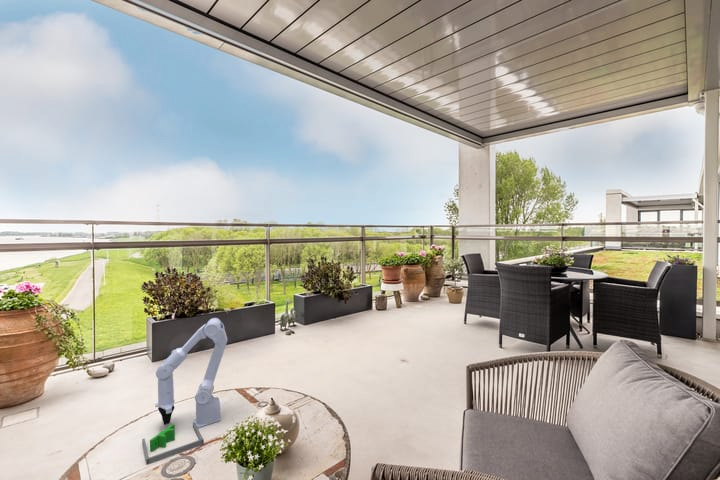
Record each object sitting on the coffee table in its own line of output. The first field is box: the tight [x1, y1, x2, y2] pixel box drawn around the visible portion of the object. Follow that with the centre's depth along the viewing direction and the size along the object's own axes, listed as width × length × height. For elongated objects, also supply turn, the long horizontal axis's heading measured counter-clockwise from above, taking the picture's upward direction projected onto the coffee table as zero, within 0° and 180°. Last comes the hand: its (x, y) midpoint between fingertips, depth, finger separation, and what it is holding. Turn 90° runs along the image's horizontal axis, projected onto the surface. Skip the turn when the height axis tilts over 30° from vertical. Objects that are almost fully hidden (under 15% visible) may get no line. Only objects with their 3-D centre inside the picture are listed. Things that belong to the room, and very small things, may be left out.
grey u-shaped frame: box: [141, 421, 205, 465], centre depth 132 cm, size 19×16×2 cm
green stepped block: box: [149, 423, 176, 453], centre depth 132 cm, size 11×4×5 cm, turn 168°
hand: (166, 423), depth 144 cm, fingers closed
